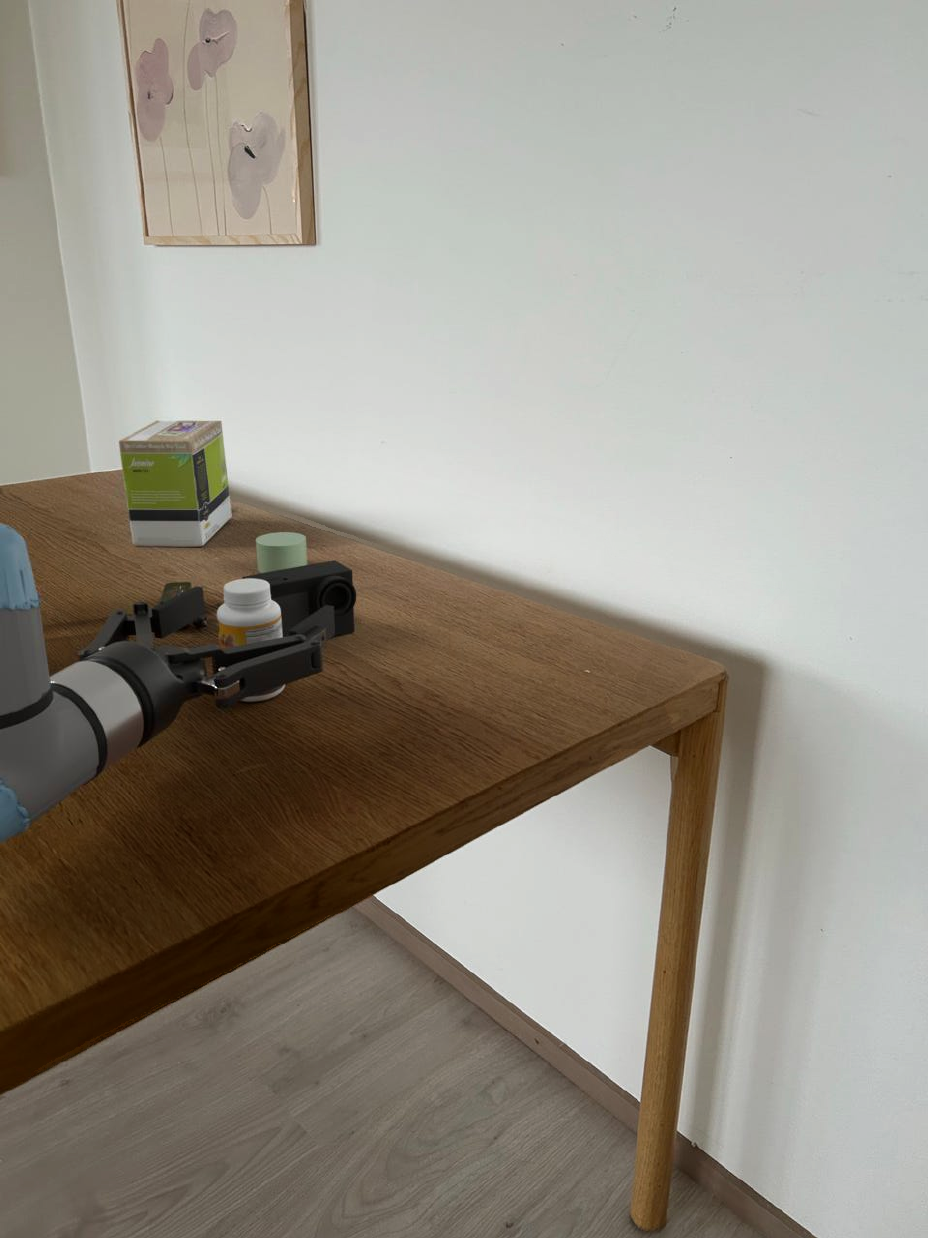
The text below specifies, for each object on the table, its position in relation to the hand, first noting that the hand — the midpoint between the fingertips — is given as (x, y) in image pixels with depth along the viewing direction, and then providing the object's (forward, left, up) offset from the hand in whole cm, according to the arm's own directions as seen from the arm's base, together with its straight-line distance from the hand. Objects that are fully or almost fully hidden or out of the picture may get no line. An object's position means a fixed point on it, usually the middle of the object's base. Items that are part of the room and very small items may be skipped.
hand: (264, 609), depth 87 cm
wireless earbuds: (-18, -6, -7) cm, 20 cm away
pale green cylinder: (-29, +7, -7) cm, 31 cm away
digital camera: (-9, +5, -7) cm, 13 cm away
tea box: (-54, -2, -7) cm, 54 cm away
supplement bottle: (+2, -2, -7) cm, 8 cm away
